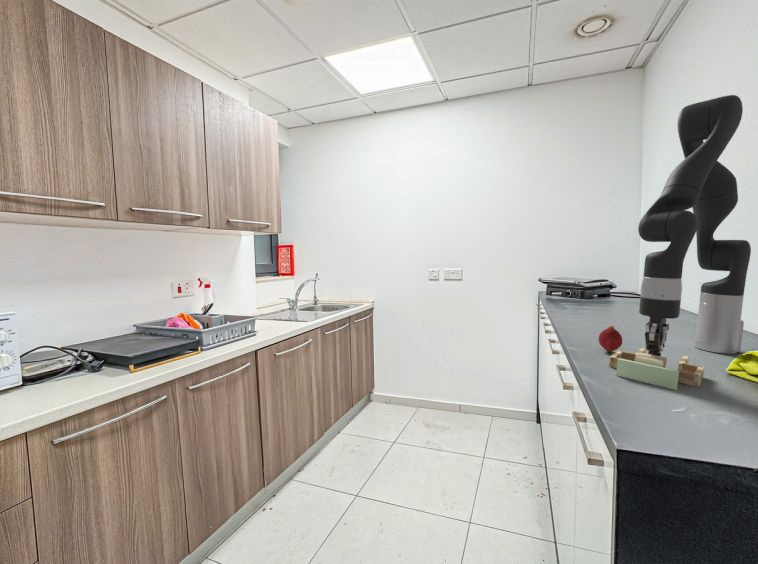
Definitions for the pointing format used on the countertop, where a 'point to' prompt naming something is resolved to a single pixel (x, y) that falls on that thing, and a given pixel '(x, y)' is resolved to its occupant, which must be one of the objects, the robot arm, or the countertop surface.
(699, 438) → the countertop surface
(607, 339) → the onion
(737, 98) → the robot arm
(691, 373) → the channel
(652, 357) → the block
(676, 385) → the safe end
